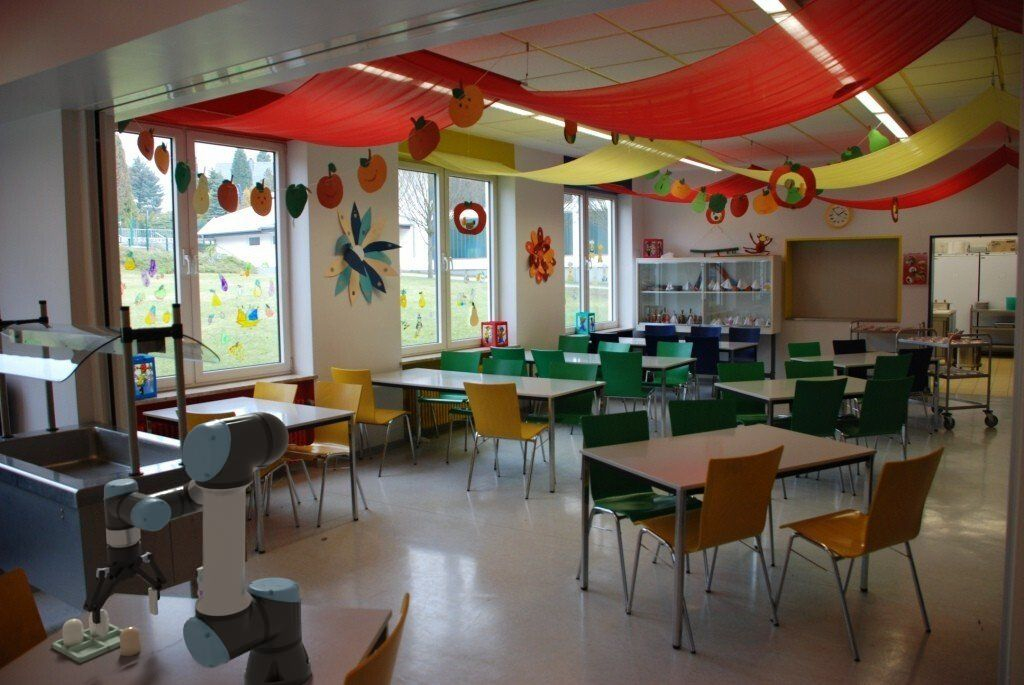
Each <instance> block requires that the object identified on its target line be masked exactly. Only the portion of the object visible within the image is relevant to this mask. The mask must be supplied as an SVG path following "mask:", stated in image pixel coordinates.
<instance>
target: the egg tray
mask: <svg viewBox="0 0 1024 685" xmlns="http://www.w3.org/2000/svg"><path fill="white" fill-rule="evenodd" d="M109 630H110V632H108V633H106V636H104V637H102V636H98V637H95V638H93V637H91V636H90V631H89V627H88V628H86V629H83V632H84V642H83V643H81V644H78V645H76V646H73V647H71V648H68V649H67V648H66V647H64V645H63V638H60V639H58V640H55V641H53V642H51V645H50V646H51V648H52V649H54V650H55V651H56V652H59V653H61V654H62V655H65V657H68V658H70V659H72V660H74V661H76V662H78V663H79V664H80V663H85V662H87V661H89V660H90V659H93V658H96V657H98V656H100V655H103V654H105V653H107V652H109V651H112V650H114V649H117V648H119V647H120V634H121V632H122V631H123V630H124V628H121V627H118V626H116V625H114V624H112V623H110V622H109Z"/></svg>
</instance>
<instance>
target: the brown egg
mask: <svg viewBox="0 0 1024 685" xmlns="http://www.w3.org/2000/svg"><path fill="white" fill-rule="evenodd" d="M119 647H120V656H123V657H130V656H135V655H138V654H139V653H140V652H141V651H142V643H141V632H140V630H139V629H138V627H136V626H127V627H126V628H123V631H122V632H121V634H120V646H119Z"/></svg>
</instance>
